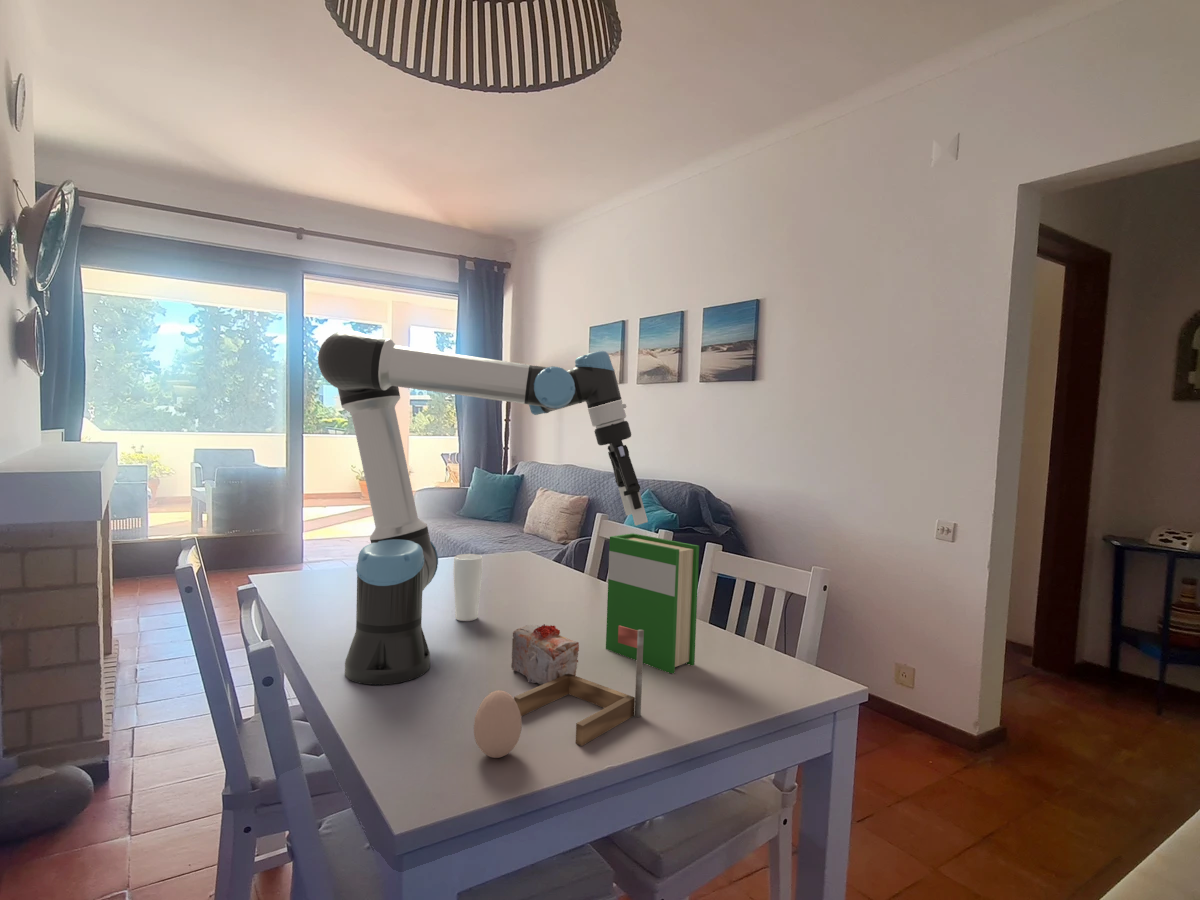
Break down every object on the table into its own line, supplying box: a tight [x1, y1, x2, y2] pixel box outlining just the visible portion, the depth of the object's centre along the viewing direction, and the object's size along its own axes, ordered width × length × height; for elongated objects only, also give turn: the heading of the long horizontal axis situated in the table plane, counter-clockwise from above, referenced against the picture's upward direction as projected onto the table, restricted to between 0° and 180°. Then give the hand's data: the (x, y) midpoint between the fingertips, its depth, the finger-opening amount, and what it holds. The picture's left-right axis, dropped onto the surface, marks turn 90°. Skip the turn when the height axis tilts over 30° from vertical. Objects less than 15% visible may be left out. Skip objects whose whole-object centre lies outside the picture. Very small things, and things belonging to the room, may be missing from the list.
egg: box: [473, 689, 523, 759], centre depth 87 cm, size 7×7×9 cm
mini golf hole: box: [513, 626, 644, 747], centre depth 100 cm, size 15×14×14 cm
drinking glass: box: [452, 553, 483, 622], centre depth 148 cm, size 7×7×15 cm
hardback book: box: [605, 532, 700, 674], centre depth 127 cm, size 18×7×24 cm, turn 45°
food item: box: [510, 624, 580, 685], centre depth 114 cm, size 14×8×10 cm, turn 45°
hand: (636, 518), depth 133 cm, fingers open, 13 cm apart
